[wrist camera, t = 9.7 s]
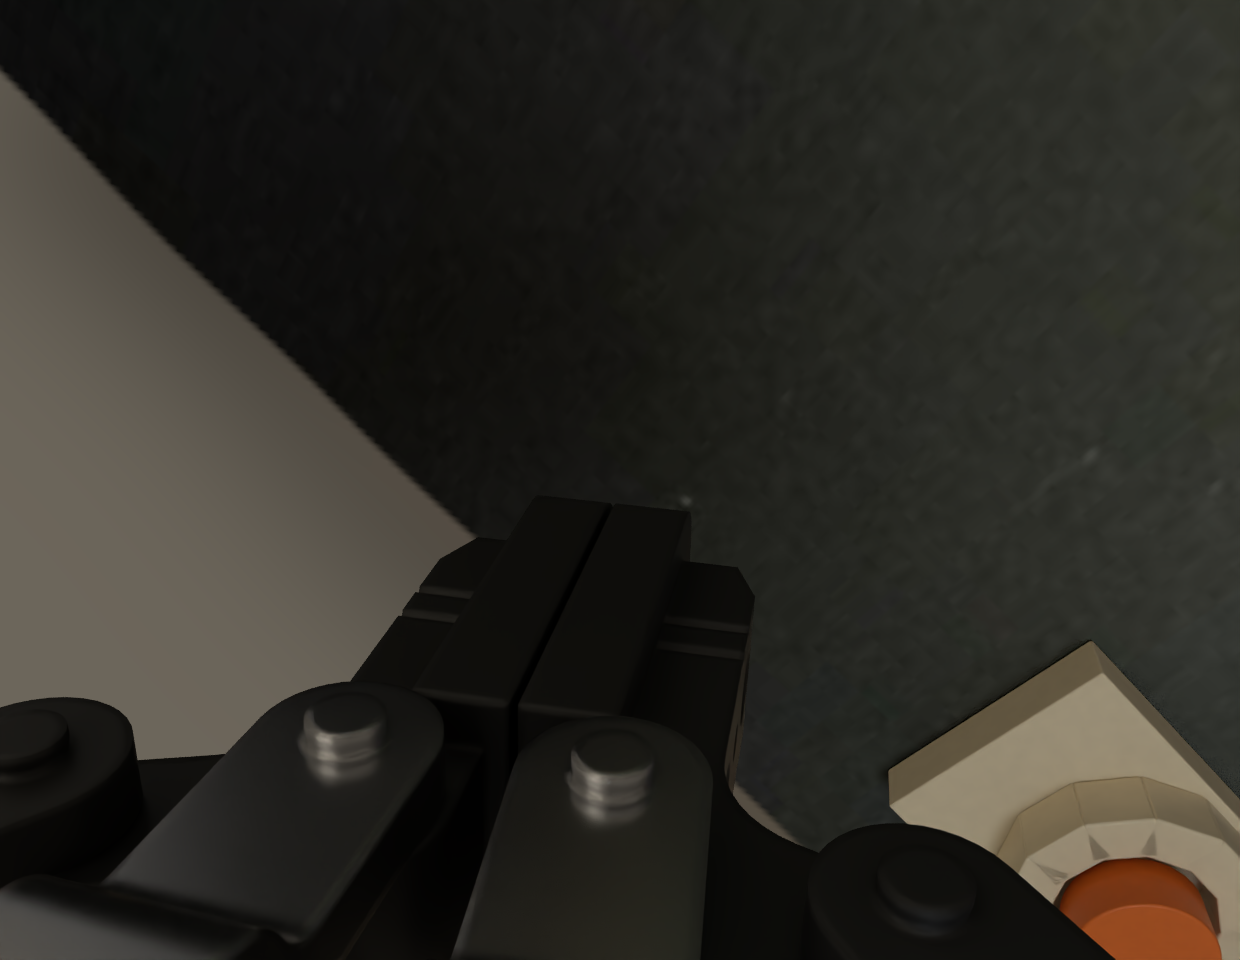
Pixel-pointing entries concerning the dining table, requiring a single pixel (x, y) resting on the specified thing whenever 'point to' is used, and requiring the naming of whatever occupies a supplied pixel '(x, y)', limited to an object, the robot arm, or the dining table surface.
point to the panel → (1080, 787)
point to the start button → (1141, 911)
